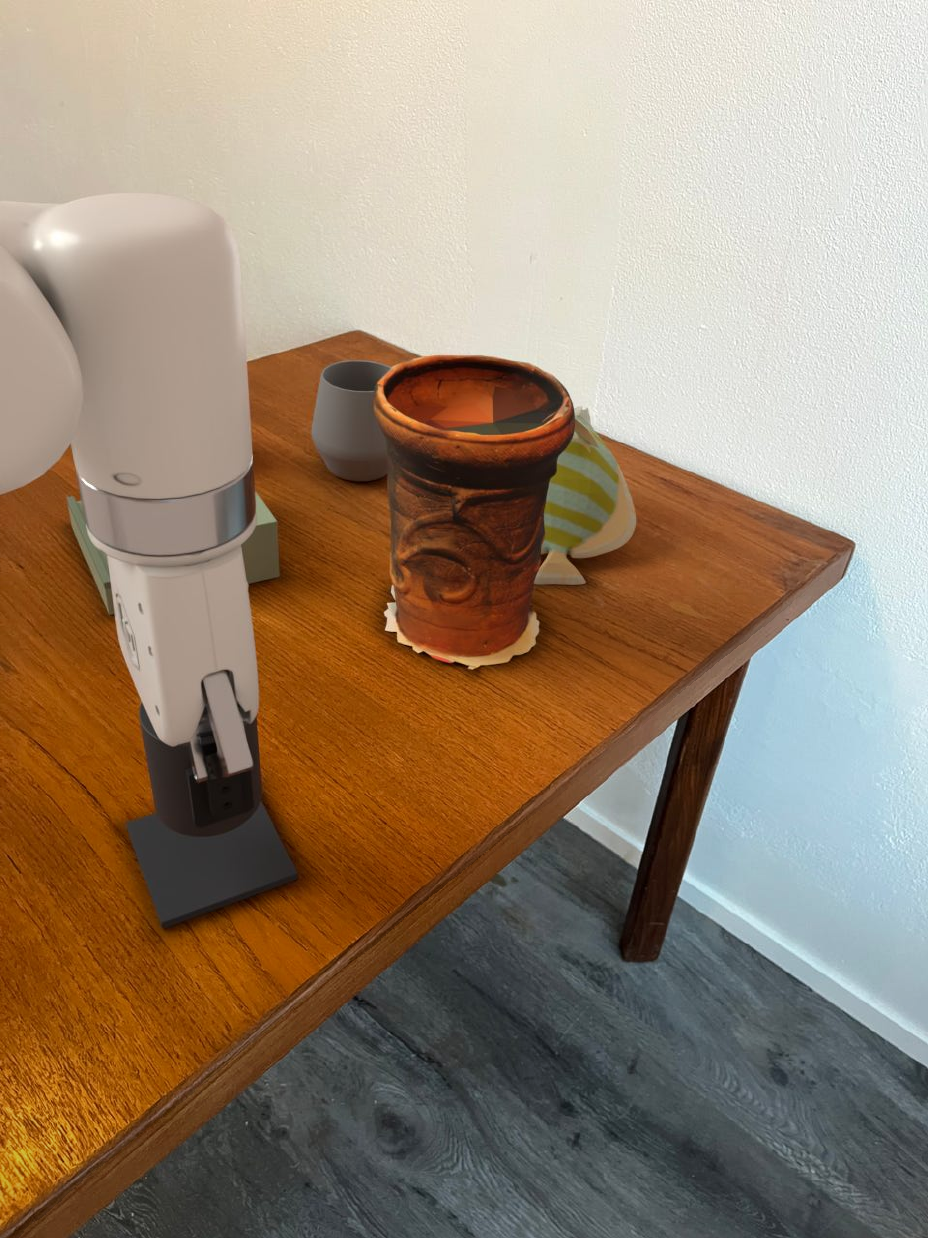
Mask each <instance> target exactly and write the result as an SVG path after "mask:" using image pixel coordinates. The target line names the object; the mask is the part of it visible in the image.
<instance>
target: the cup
mask: <svg viewBox="0 0 928 1238" xmlns="http://www.w3.org/2000/svg"><path fill="white" fill-rule="evenodd" d="M391 367H392V366H390V365H387V364H384V363H381V362H378V361H373V360H367V359H366V360H365V359H364V360H363V359H351V360H350V359H349V360H341V361H337V362H334V363H330V364H329V365H327V366H326V367H324V368H322V370H321V373H320V377H319V383H318V389H317V395H316V401H315V407H314V412H313V418H312V424H311V431H310V433H311V439H312V441H313V444H314V446H315V448H316V450H317V452H318V453H319V456H320V458H321V459H322V461H323V462H324V465H325V466H326V467H327V469H328V471H330V472H331V473H332V474H333V475H334V476H335V477H338V478H341V479H343V480H345V481H351V482H352V481H353V482H369V481H370V482H371V481H375V480H376V481H377V480H379V479H381V478H384V477H385V476H387V475H388V461H387V451H386V438H385V436H384V435H383V433H382V431H381V429H380V427H379V425H378V423H377V420H376V417H375V413H374V408H373V395H374V391H375V386H376V384H377V380H379V379H380V378H381V377H382V376H383V375H385V374H386V373H387V372H388V371H389V370H390V369H391Z"/></svg>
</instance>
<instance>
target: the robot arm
mask: <svg viewBox="0 0 928 1238" xmlns="http://www.w3.org/2000/svg"><path fill="white" fill-rule="evenodd" d="M240 259H241V258H240V251H239V245H238V242H237V238H236V236H235V234H234V231H233V230H232V228H231V227H230V225H229V223H228V222H227V221H226V219H225V218H224V217H223V216H221V214H219V213H218V212H217V211H215V210H214V209H212V208H211V207H209V206H207V205H205V204H204V203H200V202H197V201H194V200H191V199H189V198H183V197H180V196H176V195H171V194H170V195H168V194H162V193H153V192H152V193H151V192H150V193H149V192H115V193H103V194H97V195H91V196H86V197H83V198H82V197H81V198H78V199H74V200H71V201H69V202H65V203H47V202H45V203H43V202H27V201H15V200H14V201H12V200H2V199H1V200H0V495H1V496H2V495H4V494H7V493H9V492H12V491H15V490H17V489H20V488H23V487H25V486H26V485H28V484H30V483H32V482H33V481H35V480H36V479H38V478H40V477H41V476H43V475H45V474H46V473H47V472H48V471H49V470H50V469H51V468H52V467H53V466H54V465H56V464H57V462H59V460H60V459H61V458H62V456H63V455H64V453H66V451H67V449H68V448H69V446H70V448H71V453H72V458H73V463H74V466H75V472H76V473H75V474H76V479H77V483H78V489H79V495H80V501H82V505H83V511H84V516H85V521H86V528H87V533H88V536H89V538H90V541H91V542H92V543H93V545H94V546H95V547H96V548H97V549H99V550H100V551H102V552H103V553H105V554H106V555H107V558H108V566H109V573H110V581H111V588H112V596H113V604H114V612H115V614H114V619H115V627H116V633H117V634H116V635H117V640H118V643H119V647H120V650H121V653H122V656H123V659H124V662H125V664H126V667H127V670H128V673H129V674H130V676H131V679H132V682H133V683H134V686H135V689H136V691H137V693H138V695H139V698H140V700H141V702H142V703H143V705H144V707H145V710H146V712H147V714H148V717H149V719H150V721H151V723H152V726H153V728H154V730H155V732H156V734H157V736H158V737H159V739H160V740H161V741H163V742H164V743H166V744H167V745H169V746H172V747H174V746H177V745H179V744H183V743H187V747H188V751H189V756H190V761H191V765H192V767H191V768H190V769H188V770H186V774H187V781H188V788H189V795H190V802H191V810H192V817H193V820H194V822H195V825H196V826H197V827H205V826H208V825H211V824H214V823H217V822H220V821H223V820H226V819H229V818H232V817H235V816H238V815H241V814H244V813H247V812H249V811H251V810H252V809H253V807H254V799H253V787H252V775H251V770H252V769H253V761H252V757H251V753H250V750H249V746H248V743H247V739H246V734H245V729H244V724H243V721H246V722H247V723H249V724H251V723H252V722H253V721H254V719H255V717H256V715H258V714H259V713H258V712H259V708H260V707H259V706H260V690H259V689H260V687H259V672H258V671H259V669H258V661H257V652H256V651H257V650H256V641H255V640H256V639H255V633H254V625H253V618H252V617H253V616H252V609H251V601H250V594H249V586H250V585H249V584H248V582H247V580H246V573H245V567H244V561H243V555H242V548H241V544H242V543H244V542H245V541H246V540H247V539H248V538H249V537H250V535H251V534H252V533H253V531H254V529H255V527H256V523H257V514H256V497H255V491H256V483H255V482H256V481H255V467H254V455H253V436H252V421H251V405H250V390H249V388H250V387H249V376H248V375H249V374H248V359H247V358H248V357H247V342H246V328H245V309H244V297H243V296H244V295H243V281H242V267H241V260H240ZM204 707H206V710H207V714H206V715H202V713H203V710H204ZM211 732H213V735H214V738H215V742H216V746H217V753H214V754H211V755H208V756H204V753H203V748H202V744H201V739H200V736H201V735H204V734H208V733H211Z"/></svg>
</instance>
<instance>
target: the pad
mask: <svg viewBox="0 0 928 1238" xmlns="http://www.w3.org/2000/svg"><path fill="white" fill-rule="evenodd" d="M125 826H126V830H127V833H128V836H129V838H130V841H131V844H132V848H133V850H134V853H135V856H136V859H137V862H138V864H139V867H140V870H141V873H142V875H143V879H144V881H145V885H146V886H147V889H148V893H149V895H150V898H151V901H152V904H153V907H154V909H155V912H156V916H157V918H158V920H159V923H160V926H161V929H162V930H164V929H167V928H170V927H172V926H175V925H178V924H181V923H184V922H186V921H188V920H191V919H194V918H197V917H199V916H203V915H205V914H207V913H210V912H214V911H216V910H219V909H222V908H223V907H227V906H230V905H233V904H235V903H238V902H240V901H242V900H247V899H248V898H251V897H253V896H256V895H260V894H262V893H265V892H267V891H270V890H273V889H275V888H279V887H280V886H281V887H282V886H283V885H286V884H289V883H292V882H294V881H297V880H298V879H299V877H298V876H299V875H298V874H299V872H298V870H297V869H296V867H295V864H294V863H293V861H292V859H291V857H290V855H289V853H288V851H287V849H286V847H285V844H284V843H283V841H282V839H281V837H280V834H279V832H278V831H277V828H276V827H275V825H274V823H273V821H272V819H271V817H270V815H269V813H268V811H267V809H266V807H265V805H264V803H263V801H262V800H261V802H260V804H259V806H258V808H257V810H256V811H255V813H254V814H253V815H252V816H251V817H250V819H248V820H247V821H246V822H245V823H244V824H242V825H241V826H239V827H237V828H235V829H233V830H231V831H229V832H226V833H223V834H220V835H215V836H208V837H194V836H187V835H183V834H180V833H177V832H175V831H173V830H171V829H170V828H168V827H167V826H166V825H165V824H164V823H163V822H162V821H161V820H160V819H159V817H158V815H157V813H156V812H155V813H153V814H150V815H146V816H143V817H140V818H136V819H134V820H130V821H127V822H126V823H125Z"/></svg>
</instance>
